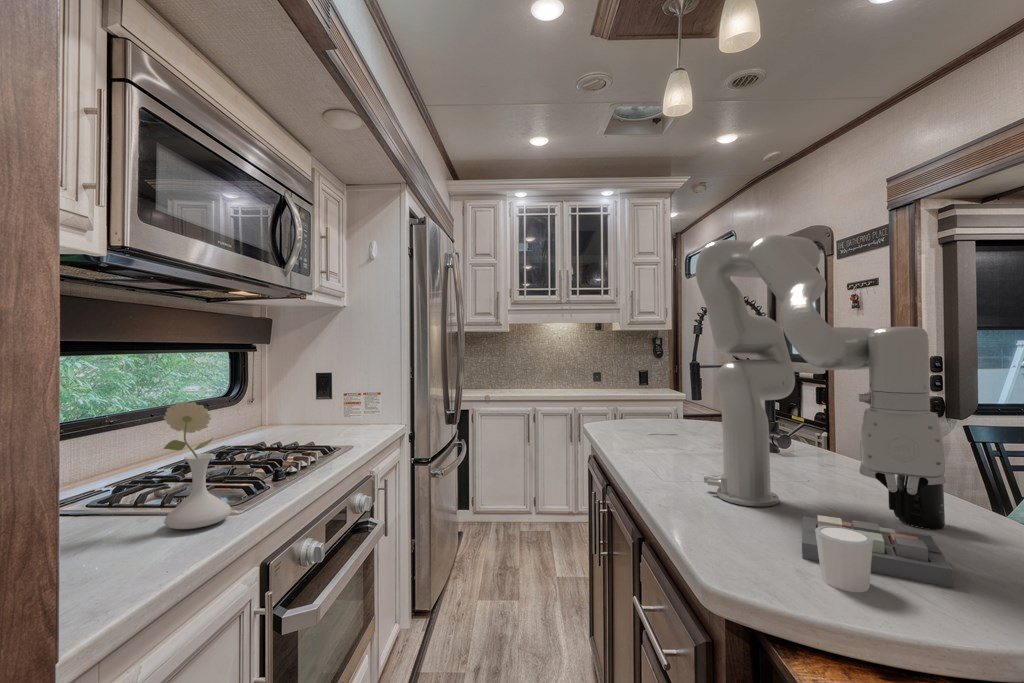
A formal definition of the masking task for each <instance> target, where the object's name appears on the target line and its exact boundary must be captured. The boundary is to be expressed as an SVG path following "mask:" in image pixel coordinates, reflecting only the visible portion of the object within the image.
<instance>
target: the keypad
mask: <svg viewBox="0 0 1024 683" xmlns="http://www.w3.org/2000/svg"><path fill="white" fill-rule="evenodd" d="M821 526H828V525H822V524H818V517H817V518H816V517H809V516H805V515H804V516H802V531H801V532H802V534H801V558H802V559H804V560H810V561H816V562H819V555H818V547H817V540H816V532H815V529H816V528H817V527H821ZM842 527H845V528H849V529H853V530H860V531H866V532H872V533H878V534H882V537H883V539H884V547H885V554H882V553H876V552H872V561H871V573H876V574H881V575H886V576H887V575H888V576H892V577H897V578H901V579H907V580H912V581H917V582H922V583H928V584H932V585H936V586H942V587H948V588H952V589H953V588H954V572H953V571H954V569H953V568H952V566H951V565H950V563H949V562H948V560H947V559H946V557H945V556H944V554H943V553H942V551H941V550H940V548H939V546H938V545H937V544H936V541H935V540H934V538H933V537H932V536H931V535H927V534H920V533H913V532H907V531H901V530H895V529H894V528H887V527H881V526H879V524H878V523H875V522H874V523H873V522H867V521H860V520H855V519H853V520H852V523H851V522H847V521H842ZM890 533H895V534H902V535H908V536H914V537H917V538H918V540H916V539H910V538H904V537H897V536H894V540H895V545H893V544H891V543H890Z"/></svg>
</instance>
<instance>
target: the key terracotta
mask: <svg viewBox="0 0 1024 683" xmlns="http://www.w3.org/2000/svg"><path fill="white" fill-rule="evenodd" d="M894 536H897V537H904V538H910V539H916V540H918V538H917V537H914V536H908V535H902V534H895V533H890V543H891V544H893V545H895V540H894Z"/></svg>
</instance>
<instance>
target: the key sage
mask: <svg viewBox="0 0 1024 683" xmlns="http://www.w3.org/2000/svg"><path fill="white" fill-rule="evenodd" d="M857 531H860V530H857ZM860 532H862V533H865V534H867V535H868V536H870V537H871V538H872V540H873V548H872V552H876V553H882V554H885V547H884V539H883V537H882V534H878V533H872V532H866V531H860Z"/></svg>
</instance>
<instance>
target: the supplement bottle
mask: <svg viewBox="0 0 1024 683" xmlns="http://www.w3.org/2000/svg"><path fill="white" fill-rule="evenodd" d="M905 477H906V476H905V475H896V484H897V486H898V487H899V491H900V490H901V489H902V486H904V482H905ZM944 489H945V488H944V484H935V485H926V486H925V487H923V488H922V489H920V490H918V491H917V493H916V494H914V513H909V519H905V518H903V516H902V517H901V518H898V520H899V521H900V522H901V521H902V522H901V523H903V524H905V523H906V524H905V525H908V524H909V525H908V526H911V525H913V526H912V527H915V526H918V527H917V528H919V527H923V528H922V529H925V528H930V529H929V530H942V529H944V527H945V524H946V515H945V514H946V513H945V512H946V511H945V490H944ZM941 528H942V529H941Z"/></svg>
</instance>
